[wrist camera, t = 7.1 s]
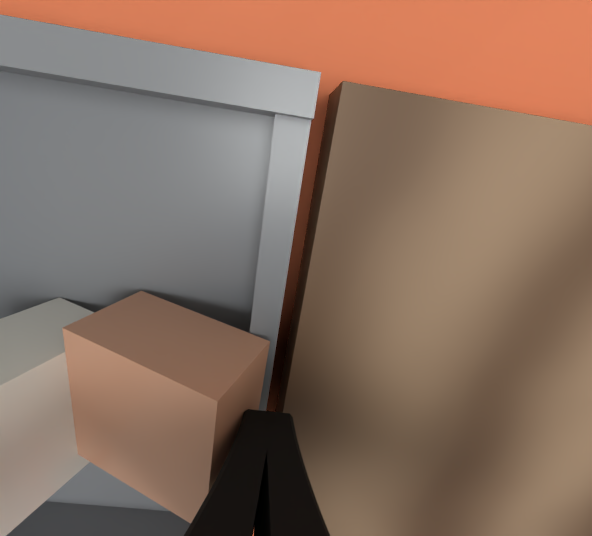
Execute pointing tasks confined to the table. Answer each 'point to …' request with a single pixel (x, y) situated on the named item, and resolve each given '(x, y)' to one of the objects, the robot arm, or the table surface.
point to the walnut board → (445, 321)
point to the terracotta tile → (161, 395)
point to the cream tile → (35, 409)
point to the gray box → (144, 203)
